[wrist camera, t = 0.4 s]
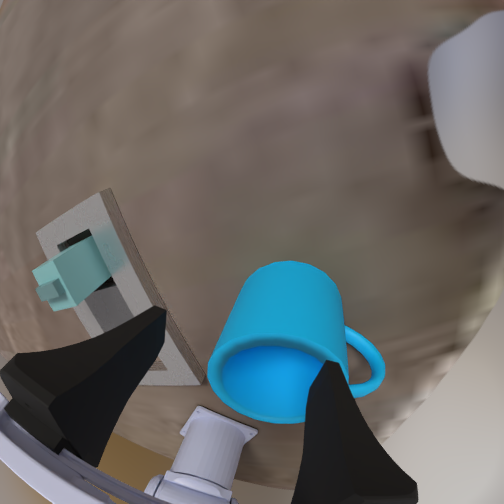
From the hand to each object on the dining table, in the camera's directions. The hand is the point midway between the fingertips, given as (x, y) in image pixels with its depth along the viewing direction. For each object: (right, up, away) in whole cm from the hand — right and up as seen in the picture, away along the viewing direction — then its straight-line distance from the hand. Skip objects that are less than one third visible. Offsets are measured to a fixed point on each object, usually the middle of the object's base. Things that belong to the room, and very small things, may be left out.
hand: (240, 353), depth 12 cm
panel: (-13, -1, +14) cm, 19 cm away
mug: (+5, -1, +11) cm, 12 cm away
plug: (-14, +4, +13) cm, 19 cm away
